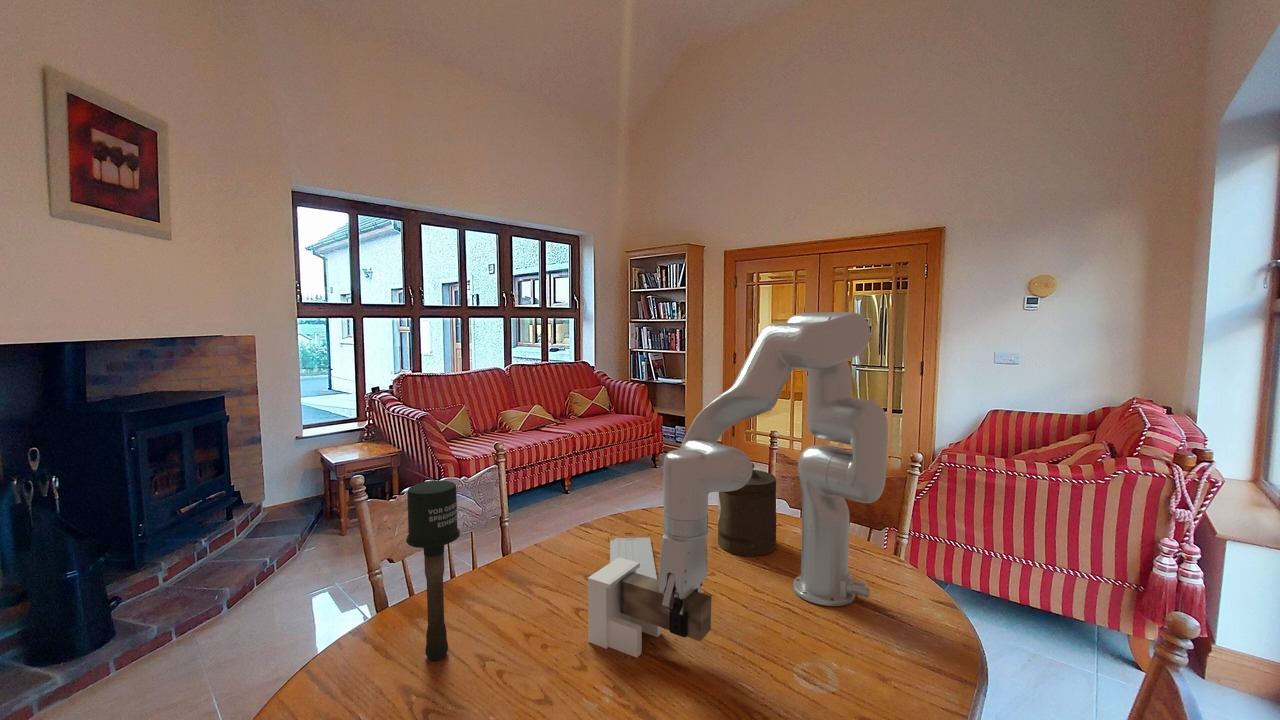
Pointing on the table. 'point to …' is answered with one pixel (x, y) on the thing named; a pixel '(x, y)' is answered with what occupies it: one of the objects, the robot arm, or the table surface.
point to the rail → (646, 605)
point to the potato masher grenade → (433, 549)
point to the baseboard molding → (634, 553)
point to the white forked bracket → (614, 611)
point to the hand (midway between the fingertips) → (684, 626)
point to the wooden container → (749, 516)
